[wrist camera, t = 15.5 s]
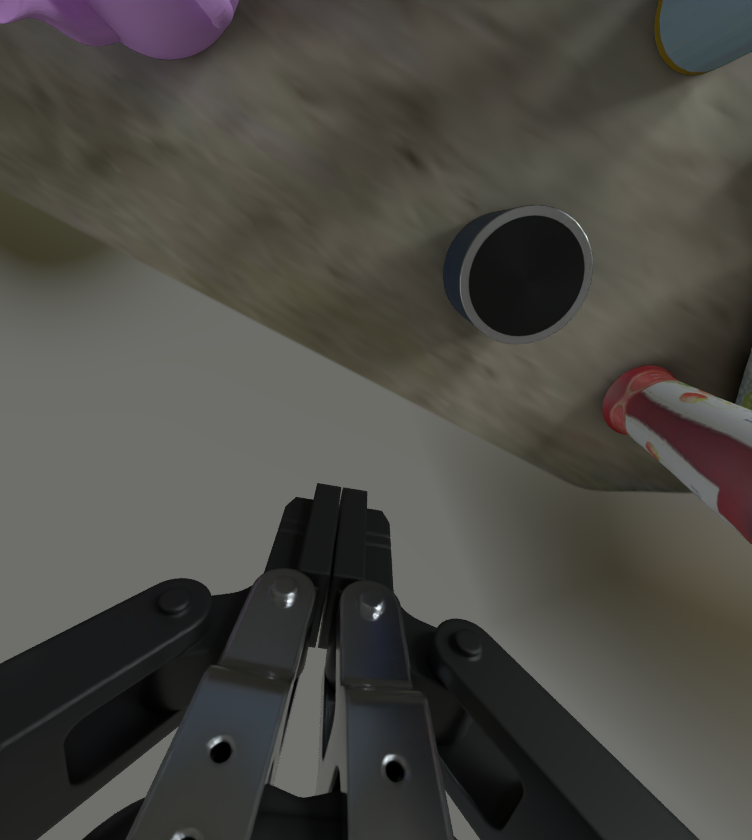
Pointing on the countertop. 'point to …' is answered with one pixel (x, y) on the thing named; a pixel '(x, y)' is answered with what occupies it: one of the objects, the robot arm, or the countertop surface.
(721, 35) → the bottle
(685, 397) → the liquor
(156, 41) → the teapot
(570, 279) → the pot
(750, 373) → the towel
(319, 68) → the countertop surface
